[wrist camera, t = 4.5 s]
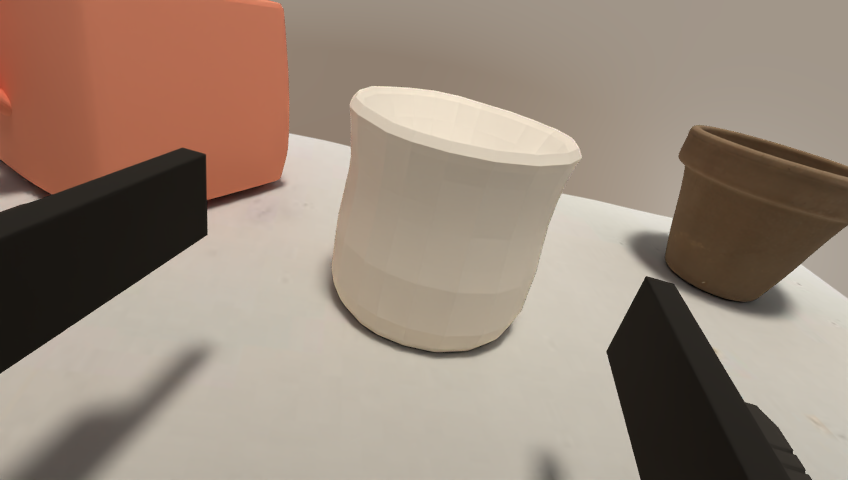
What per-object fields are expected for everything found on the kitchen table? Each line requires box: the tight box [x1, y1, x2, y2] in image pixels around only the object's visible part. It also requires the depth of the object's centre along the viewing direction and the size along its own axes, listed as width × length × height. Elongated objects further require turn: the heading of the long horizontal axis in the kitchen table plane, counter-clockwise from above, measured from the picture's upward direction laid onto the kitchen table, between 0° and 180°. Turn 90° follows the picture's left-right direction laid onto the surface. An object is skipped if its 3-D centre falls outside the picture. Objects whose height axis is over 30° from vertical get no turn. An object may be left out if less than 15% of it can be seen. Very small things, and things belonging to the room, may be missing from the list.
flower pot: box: [665, 125, 848, 302], centre depth 31 cm, size 12×11×10 cm
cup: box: [331, 86, 582, 352], centre depth 22 cm, size 10×10×10 cm
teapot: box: [0, 0, 289, 200], centre depth 28 cm, size 20×22×14 cm
